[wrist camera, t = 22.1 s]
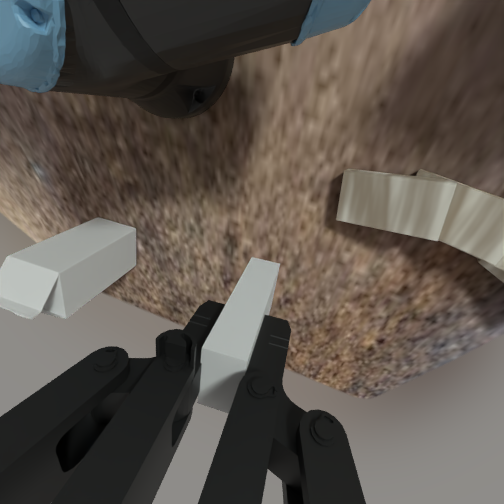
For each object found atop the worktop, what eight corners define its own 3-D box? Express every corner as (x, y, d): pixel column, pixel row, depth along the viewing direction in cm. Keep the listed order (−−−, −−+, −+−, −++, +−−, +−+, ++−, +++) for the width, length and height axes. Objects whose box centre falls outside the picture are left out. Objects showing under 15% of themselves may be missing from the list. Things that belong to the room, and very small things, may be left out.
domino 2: (391, 218, 34) (495, 265, 29) (419, 169, 31) (539, 212, 26) (394, 215, 35) (493, 260, 31) (421, 169, 32) (535, 209, 28)
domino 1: (336, 220, 35) (437, 241, 30) (343, 170, 33) (457, 184, 27) (341, 216, 37) (438, 235, 31) (349, 168, 34) (457, 181, 29)
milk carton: (98, 216, 46) (-32, 271, 30) (137, 228, 45) (26, 291, 29) (100, 253, 50) (-15, 322, 33) (137, 265, 49) (37, 341, 32)
